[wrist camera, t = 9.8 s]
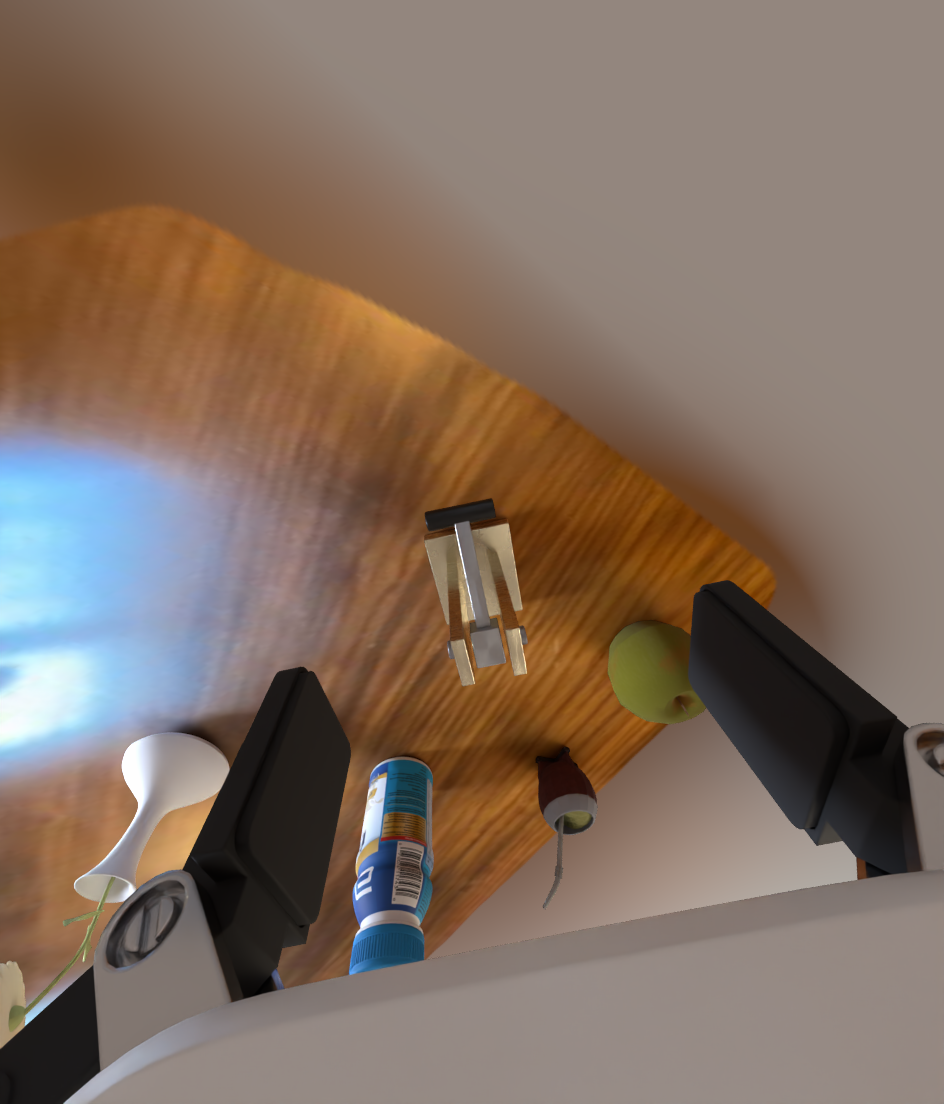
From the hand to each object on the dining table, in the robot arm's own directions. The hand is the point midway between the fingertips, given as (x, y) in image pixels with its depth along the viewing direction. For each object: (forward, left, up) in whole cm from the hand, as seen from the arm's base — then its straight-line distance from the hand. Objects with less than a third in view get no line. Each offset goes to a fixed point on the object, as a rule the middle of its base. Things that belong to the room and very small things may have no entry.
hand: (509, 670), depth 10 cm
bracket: (+11, -8, -28) cm, 31 cm away
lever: (+8, -6, -20) cm, 22 cm away
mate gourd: (+41, -21, -28) cm, 54 cm away
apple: (+31, -1, -28) cm, 42 cm away
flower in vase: (+5, -51, -28) cm, 59 cm away
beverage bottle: (+27, -36, -28) cm, 53 cm away
